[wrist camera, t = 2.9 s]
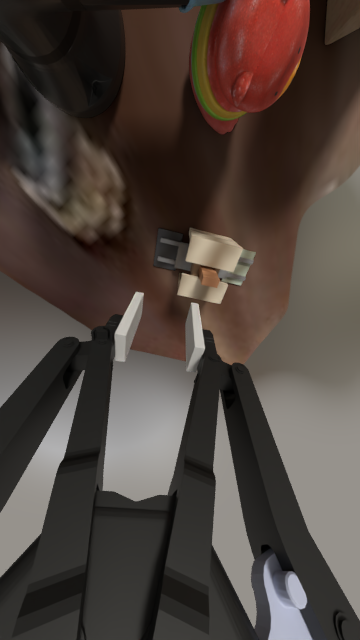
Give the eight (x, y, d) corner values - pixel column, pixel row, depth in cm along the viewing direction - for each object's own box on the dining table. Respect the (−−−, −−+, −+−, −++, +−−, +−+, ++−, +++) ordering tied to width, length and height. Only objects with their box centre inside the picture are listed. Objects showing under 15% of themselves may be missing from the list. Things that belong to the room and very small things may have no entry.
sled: (174, 265, 39) (171, 289, 29) (179, 241, 36) (178, 258, 26) (224, 277, 40) (238, 303, 30) (233, 255, 37) (251, 275, 28)
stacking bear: (226, 140, 29) (260, 171, 18) (172, 91, 25) (176, 93, 14) (284, 32, 22) (398, -23, 11) (222, -64, 17) (309, -306, 7)
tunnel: (152, 271, 41) (145, 288, 34) (159, 219, 35) (153, 225, 27) (237, 290, 44) (249, 310, 36) (258, 245, 38) (278, 257, 30)
